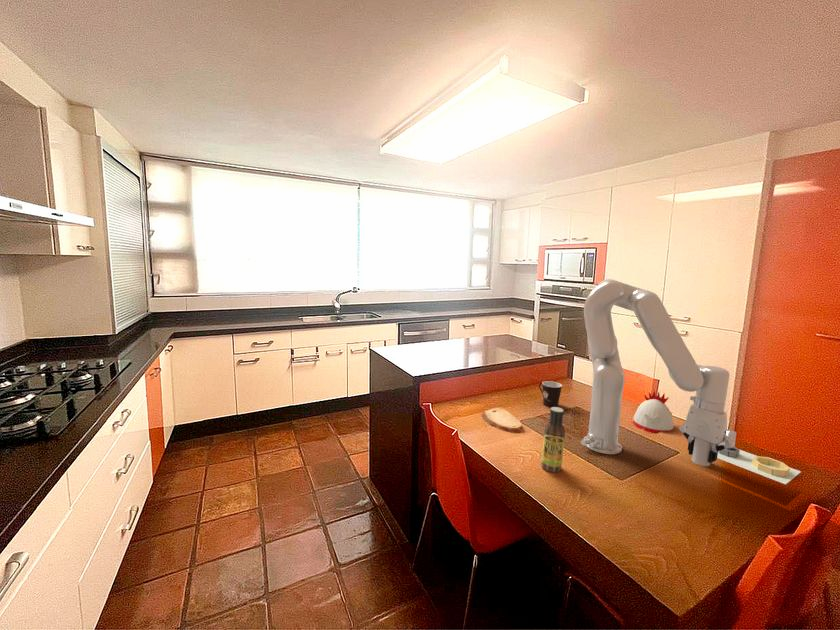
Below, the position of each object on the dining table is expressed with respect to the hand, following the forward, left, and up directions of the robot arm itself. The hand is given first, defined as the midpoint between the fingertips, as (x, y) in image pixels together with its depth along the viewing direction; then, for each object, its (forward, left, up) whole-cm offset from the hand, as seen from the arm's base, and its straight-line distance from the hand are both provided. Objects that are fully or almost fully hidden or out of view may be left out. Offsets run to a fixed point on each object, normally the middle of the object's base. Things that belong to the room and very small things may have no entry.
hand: (701, 457), depth 118 cm
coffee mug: (-1, +61, -3) cm, 61 cm away
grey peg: (+15, -2, -2) cm, 15 cm away
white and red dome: (+17, +24, -3) cm, 29 cm away
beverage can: (0, 0, -3) cm, 3 cm away
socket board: (+15, -7, -3) cm, 17 cm away
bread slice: (-34, +57, -4) cm, 66 cm away
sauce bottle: (-45, +23, -3) cm, 50 cm away
